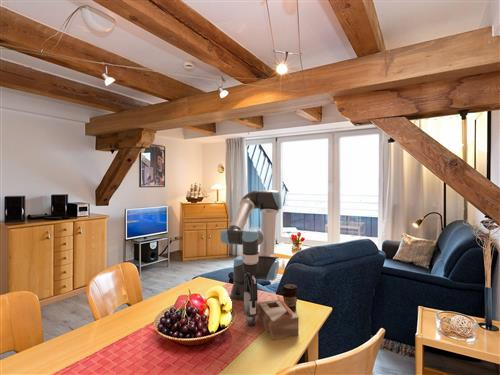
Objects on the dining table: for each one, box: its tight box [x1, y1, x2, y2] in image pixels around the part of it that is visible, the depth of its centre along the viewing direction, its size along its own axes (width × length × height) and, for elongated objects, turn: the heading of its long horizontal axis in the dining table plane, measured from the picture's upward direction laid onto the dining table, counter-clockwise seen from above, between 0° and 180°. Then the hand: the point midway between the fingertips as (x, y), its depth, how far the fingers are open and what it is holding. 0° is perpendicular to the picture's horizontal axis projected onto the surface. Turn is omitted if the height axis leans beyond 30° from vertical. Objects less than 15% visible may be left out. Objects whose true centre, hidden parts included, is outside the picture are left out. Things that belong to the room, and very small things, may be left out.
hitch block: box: [257, 299, 300, 341], centre depth 130 cm, size 20×12×8 cm, turn 17°
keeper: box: [276, 295, 293, 316], centre depth 125 cm, size 5×9×1 cm
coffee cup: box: [281, 283, 299, 313], centre depth 146 cm, size 9×8×13 cm
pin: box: [243, 290, 258, 327], centre depth 132 cm, size 6×6×15 cm
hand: (250, 310), depth 132 cm, fingers closed on pin, 6 cm apart
